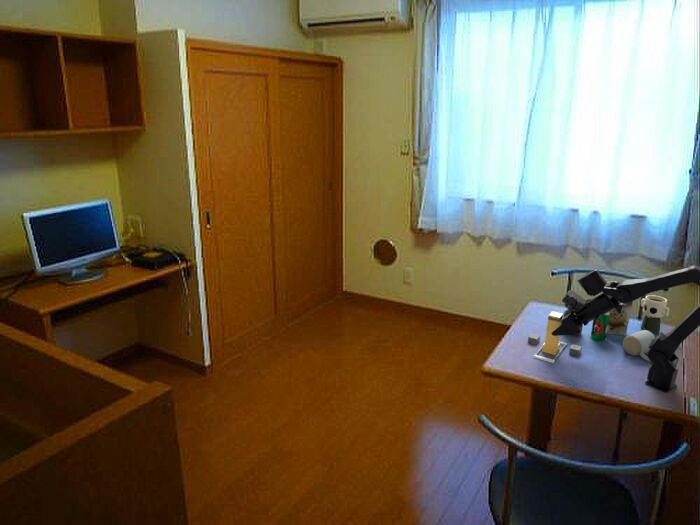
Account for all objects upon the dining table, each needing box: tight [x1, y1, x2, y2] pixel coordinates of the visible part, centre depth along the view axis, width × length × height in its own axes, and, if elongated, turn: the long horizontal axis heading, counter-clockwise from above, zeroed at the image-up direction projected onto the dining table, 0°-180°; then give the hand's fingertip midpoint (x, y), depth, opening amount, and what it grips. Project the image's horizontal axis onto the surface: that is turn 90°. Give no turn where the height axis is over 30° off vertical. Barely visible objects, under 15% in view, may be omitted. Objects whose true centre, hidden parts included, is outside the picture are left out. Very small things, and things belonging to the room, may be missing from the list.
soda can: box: [590, 311, 610, 342], centre depth 188 cm, size 5×5×12 cm
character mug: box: [640, 294, 670, 334], centre depth 197 cm, size 11×7×13 cm, turn 25°
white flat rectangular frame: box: [527, 333, 583, 364], centre depth 180 cm, size 20×16×3 cm
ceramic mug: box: [622, 329, 656, 363], centre depth 179 cm, size 11×8×8 cm
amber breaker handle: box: [541, 310, 564, 356], centre depth 178 cm, size 4×4×13 cm
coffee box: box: [607, 301, 634, 336], centre depth 196 cm, size 9×6×16 cm
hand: (556, 329), depth 177 cm, fingers open, 9 cm apart
